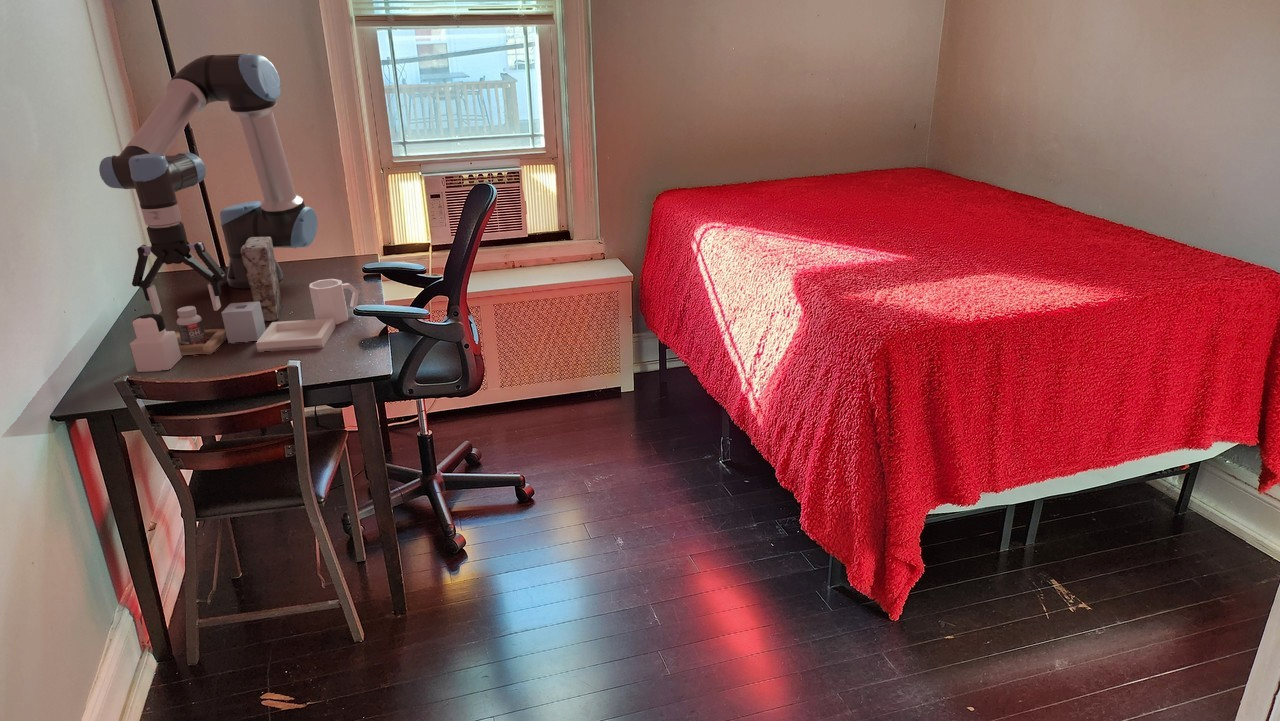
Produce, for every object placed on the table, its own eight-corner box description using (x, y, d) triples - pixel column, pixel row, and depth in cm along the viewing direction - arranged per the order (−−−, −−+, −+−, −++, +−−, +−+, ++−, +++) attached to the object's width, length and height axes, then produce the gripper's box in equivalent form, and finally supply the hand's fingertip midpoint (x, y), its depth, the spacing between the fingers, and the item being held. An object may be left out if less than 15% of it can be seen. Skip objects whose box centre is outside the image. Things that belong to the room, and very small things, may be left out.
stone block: (285, 319, 219) (269, 245, 211) (256, 324, 216) (239, 248, 208) (285, 304, 230) (270, 233, 222) (258, 308, 228) (242, 236, 220)
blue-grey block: (237, 333, 210) (230, 303, 207) (266, 331, 211) (259, 301, 208) (228, 343, 204) (221, 312, 201) (258, 341, 205) (251, 310, 202)
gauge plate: (179, 339, 208) (177, 331, 207) (229, 335, 209) (227, 328, 208) (159, 357, 197) (157, 350, 196) (213, 354, 198) (211, 346, 197)
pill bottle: (196, 351, 200) (186, 313, 196) (178, 349, 201) (168, 311, 197) (213, 343, 204) (203, 305, 201) (195, 341, 206) (185, 304, 202)
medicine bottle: (151, 360, 195) (137, 312, 191) (182, 358, 196) (170, 310, 191) (137, 372, 189) (122, 323, 184) (169, 371, 189) (156, 321, 185)
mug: (321, 328, 212) (314, 291, 208) (310, 319, 219) (303, 283, 215) (367, 317, 219) (361, 281, 215) (355, 308, 225) (349, 273, 221)
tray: (274, 331, 211) (272, 322, 210) (335, 327, 212) (333, 318, 211) (257, 352, 198) (255, 342, 197) (323, 347, 200) (321, 338, 199)
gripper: (99, 231, 186) (126, 320, 195) (215, 224, 189) (237, 312, 197) (114, 223, 193) (139, 309, 202) (226, 216, 195) (247, 301, 204)
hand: (188, 310), depth 200 cm, fingers open, 13 cm apart
